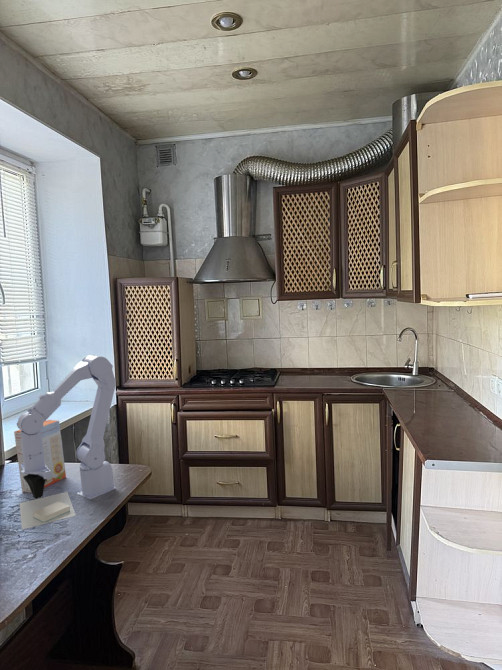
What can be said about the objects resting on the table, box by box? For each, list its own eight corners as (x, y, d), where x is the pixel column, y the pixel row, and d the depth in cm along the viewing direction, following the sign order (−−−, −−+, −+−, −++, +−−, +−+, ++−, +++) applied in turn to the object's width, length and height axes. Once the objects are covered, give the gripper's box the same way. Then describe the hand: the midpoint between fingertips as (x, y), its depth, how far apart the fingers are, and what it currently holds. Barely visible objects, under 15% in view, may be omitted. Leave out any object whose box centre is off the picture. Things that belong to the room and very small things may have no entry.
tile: (58, 501, 144) (69, 505, 140) (59, 506, 144) (70, 511, 140) (32, 512, 138) (43, 517, 134) (33, 517, 138) (44, 522, 134)
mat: (19, 504, 148) (19, 503, 148) (67, 492, 155) (67, 491, 155) (22, 531, 131) (21, 529, 131) (75, 516, 137) (75, 515, 137)
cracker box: (54, 476, 171) (48, 419, 169) (66, 478, 168) (60, 419, 166) (20, 492, 158) (13, 430, 156) (33, 494, 155) (26, 431, 153)
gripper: (7, 453, 143) (13, 497, 144) (32, 461, 134) (37, 508, 135) (30, 446, 148) (35, 488, 150) (56, 453, 140) (60, 498, 141)
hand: (38, 497), depth 143 cm, fingers closed
